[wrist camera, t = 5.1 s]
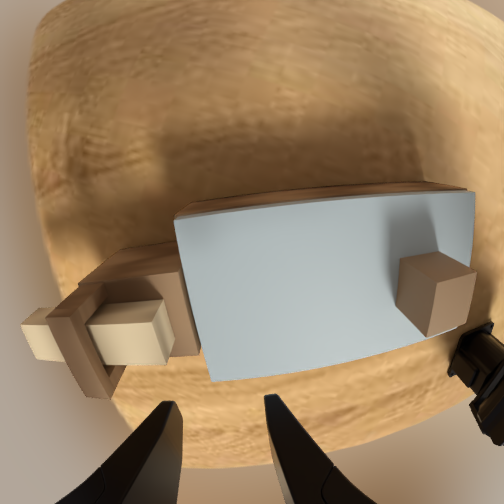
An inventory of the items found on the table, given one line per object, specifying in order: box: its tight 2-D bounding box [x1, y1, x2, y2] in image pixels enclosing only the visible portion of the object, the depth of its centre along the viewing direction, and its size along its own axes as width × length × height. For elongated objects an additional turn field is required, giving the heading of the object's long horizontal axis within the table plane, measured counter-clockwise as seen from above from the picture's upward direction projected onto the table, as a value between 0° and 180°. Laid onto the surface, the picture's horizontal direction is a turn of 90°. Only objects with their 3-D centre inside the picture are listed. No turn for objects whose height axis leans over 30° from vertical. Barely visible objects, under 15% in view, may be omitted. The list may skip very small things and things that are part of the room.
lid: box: [174, 190, 477, 382], centre depth 13 cm, size 18×10×4 cm, turn 97°
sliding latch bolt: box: [20, 299, 175, 365], centre depth 12 cm, size 9×2×2 cm, turn 97°
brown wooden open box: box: [45, 181, 467, 400], centre depth 15 cm, size 24×10×10 cm, turn 97°
